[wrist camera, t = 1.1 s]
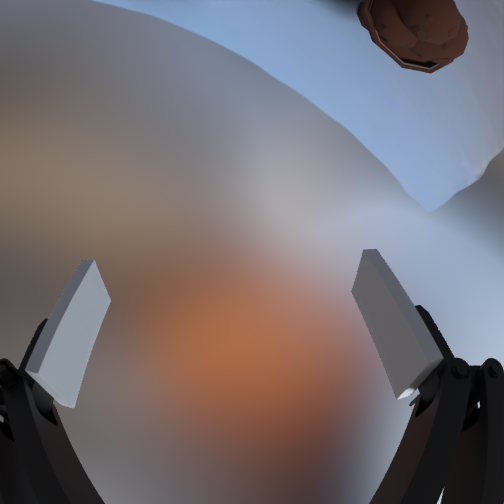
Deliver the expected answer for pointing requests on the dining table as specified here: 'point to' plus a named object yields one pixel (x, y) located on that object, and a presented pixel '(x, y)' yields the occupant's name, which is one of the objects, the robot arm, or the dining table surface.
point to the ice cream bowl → (416, 31)
